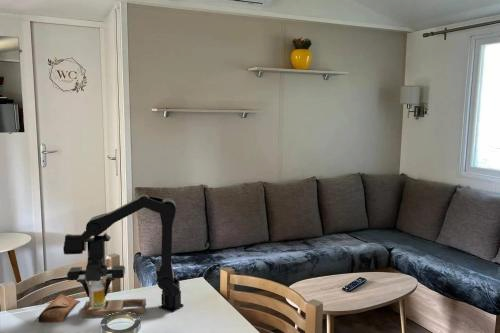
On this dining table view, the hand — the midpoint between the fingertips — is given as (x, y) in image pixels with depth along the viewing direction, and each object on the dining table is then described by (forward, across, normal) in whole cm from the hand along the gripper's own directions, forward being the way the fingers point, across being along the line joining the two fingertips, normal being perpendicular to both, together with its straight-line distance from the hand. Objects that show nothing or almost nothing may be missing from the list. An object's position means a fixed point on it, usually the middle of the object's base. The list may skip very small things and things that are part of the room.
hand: (97, 296), depth 155 cm
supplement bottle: (+4, 0, 0) cm, 4 cm away
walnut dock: (+6, +6, 0) cm, 8 cm away
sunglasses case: (+6, -13, +2) cm, 14 cm away
